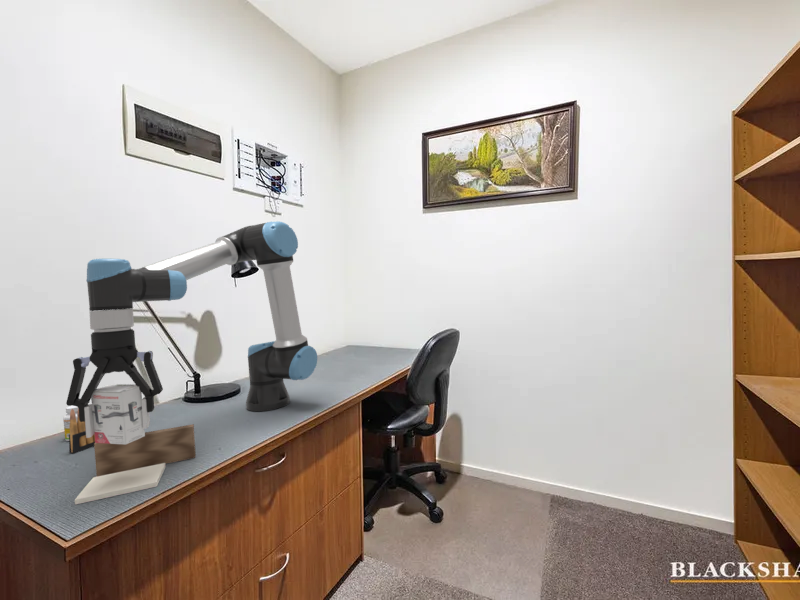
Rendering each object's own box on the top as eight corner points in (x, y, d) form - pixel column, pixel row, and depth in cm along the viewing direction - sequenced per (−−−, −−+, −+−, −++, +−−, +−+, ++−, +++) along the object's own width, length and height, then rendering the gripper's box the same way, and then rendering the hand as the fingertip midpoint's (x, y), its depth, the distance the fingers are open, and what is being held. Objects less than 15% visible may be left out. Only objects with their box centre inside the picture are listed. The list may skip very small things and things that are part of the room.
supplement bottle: (85, 433, 114) (83, 402, 114) (91, 436, 111) (88, 405, 111) (62, 439, 110) (60, 407, 110) (67, 443, 107) (65, 410, 107)
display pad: (165, 466, 88) (165, 462, 88) (156, 486, 79) (156, 481, 79) (93, 481, 83) (93, 477, 83) (75, 504, 74) (74, 499, 74)
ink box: (92, 444, 79) (89, 389, 79) (115, 435, 84) (111, 383, 84) (125, 445, 77) (122, 389, 77) (146, 436, 82) (143, 383, 82)
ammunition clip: (73, 453, 99) (70, 410, 99) (69, 453, 100) (65, 409, 99) (115, 438, 109) (113, 398, 109) (111, 437, 110) (109, 398, 109)
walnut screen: (195, 454, 94) (193, 424, 94) (194, 457, 92) (192, 426, 92) (99, 473, 86) (97, 440, 86) (96, 477, 85) (94, 443, 84)
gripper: (174, 324, 88) (179, 416, 88) (56, 332, 79) (63, 435, 79) (168, 326, 81) (174, 426, 81) (38, 335, 72) (46, 447, 73)
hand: (119, 430), depth 80 cm, fingers closed on ink box, 9 cm apart
